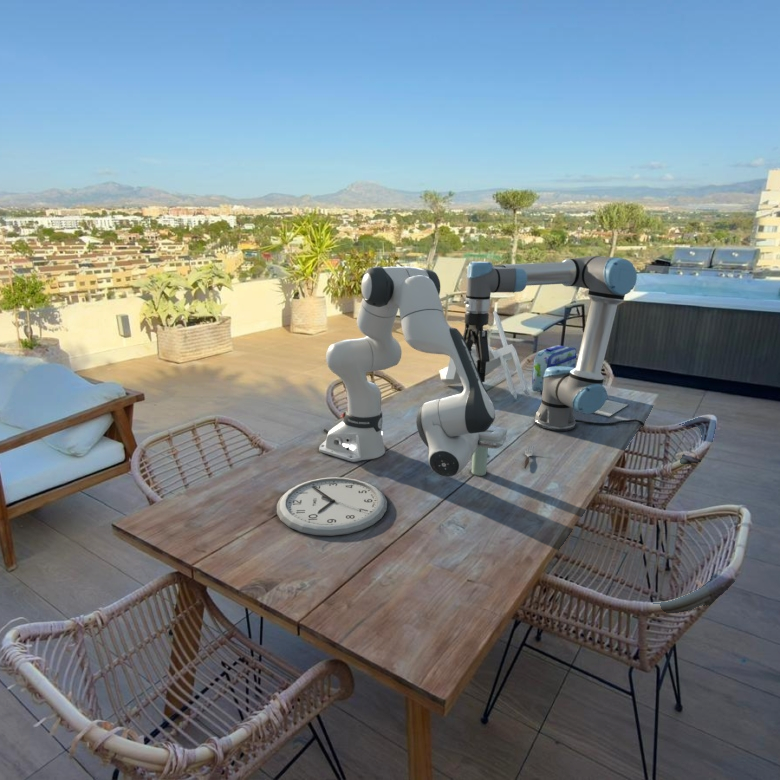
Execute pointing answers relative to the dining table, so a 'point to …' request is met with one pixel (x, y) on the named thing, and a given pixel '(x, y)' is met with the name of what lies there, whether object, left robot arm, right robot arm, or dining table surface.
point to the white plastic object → (491, 363)
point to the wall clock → (331, 506)
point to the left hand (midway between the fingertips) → (473, 422)
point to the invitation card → (610, 408)
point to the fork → (528, 455)
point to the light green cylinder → (479, 461)
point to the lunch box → (551, 363)
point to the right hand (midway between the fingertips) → (472, 376)
